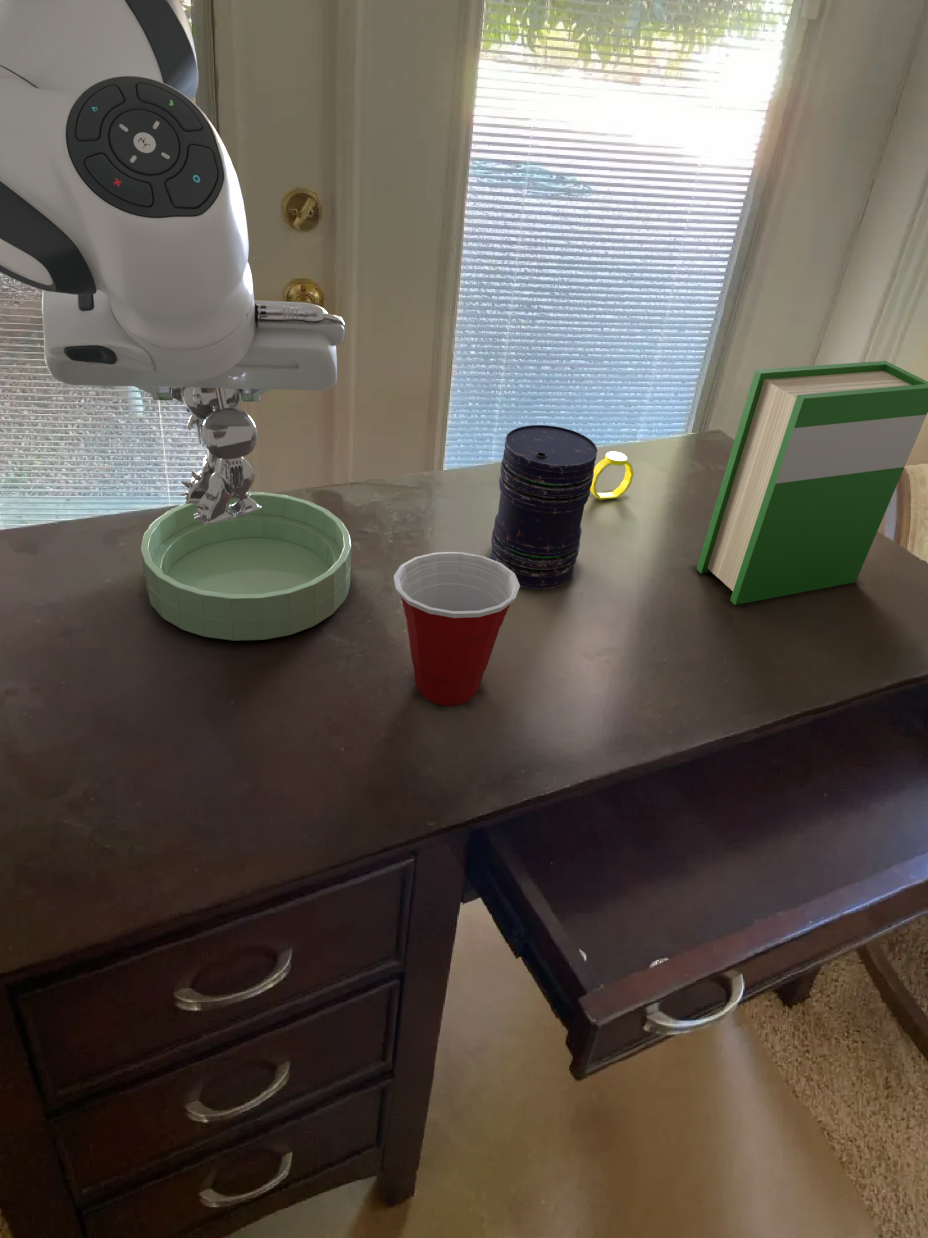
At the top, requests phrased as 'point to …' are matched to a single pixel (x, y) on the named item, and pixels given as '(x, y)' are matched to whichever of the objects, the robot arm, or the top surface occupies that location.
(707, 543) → the hardback book
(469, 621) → the plastic cup
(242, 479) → the robot toy
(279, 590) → the bowl
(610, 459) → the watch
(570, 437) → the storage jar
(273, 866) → the top surface
